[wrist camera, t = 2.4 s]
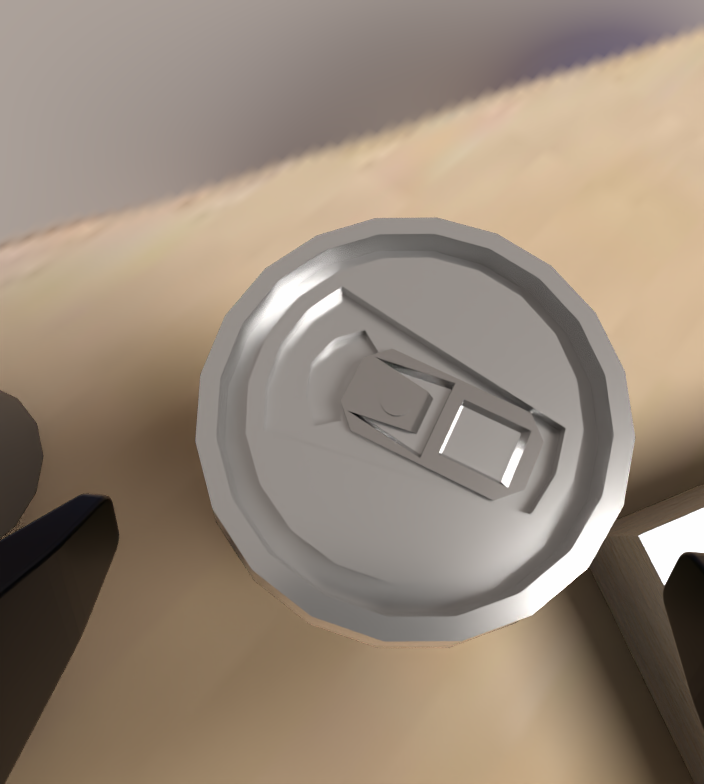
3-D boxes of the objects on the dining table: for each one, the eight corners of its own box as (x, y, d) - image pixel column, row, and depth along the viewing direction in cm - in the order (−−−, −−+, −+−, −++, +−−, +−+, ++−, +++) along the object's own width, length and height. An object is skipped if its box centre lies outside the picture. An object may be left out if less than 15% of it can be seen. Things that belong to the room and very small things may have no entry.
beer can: (483, 461, 18) (715, 306, 6) (415, 615, 16) (554, 780, 5) (340, 392, 19) (313, 140, 7) (264, 535, 17) (78, 514, 6)
